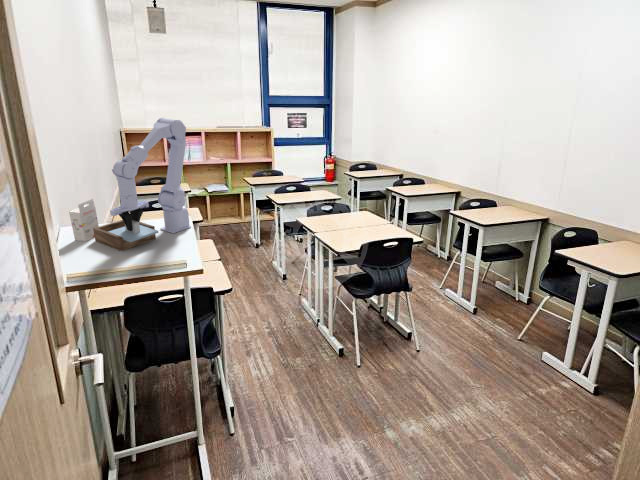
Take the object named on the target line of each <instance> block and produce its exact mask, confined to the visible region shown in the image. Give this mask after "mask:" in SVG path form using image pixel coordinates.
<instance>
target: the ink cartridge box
mask: <svg viewBox="0 0 640 480" xmlns="http://www.w3.org/2000/svg"><path fill="white" fill-rule="evenodd" d="M68 215H69V217H70V221H71V227H72V228H71V229H72V232H73V236H74V238H73V239H74V241H77V242H88V241H90V240H92V239H93V238H95V236H94V230H93V228H96V227H99V226H100V225H99V220H98V215H97V209H96V206H95V201H94V199H93V198H91V199H89V200H86V201H83V202H81V203H78V205H77V208H75V209H73V210H71V211H68Z"/></svg>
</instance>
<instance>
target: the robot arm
mask: <svg viewBox="0 0 640 480" xmlns="http://www.w3.org/2000/svg"><path fill="white" fill-rule="evenodd" d="M186 130H187V126H186V125H185V124H184V122H183V121H182V120H180V119H170V118H165V117H160V118H158V119H157V120H156V121H155V123H153V128H152V129H151V130H150V132H149V133H148V134H146V135H147V136H145V138H144V139H143V140H142V142H141V143H140V144H139V145H137V144H136V145H134V146H131V147H130V148H129V149H130V150H129V151H128V152H127V154H126V155H125V156H123V157H122V158H121V160H117V161H116V162H115V163H114V165H113V168H112V169H111V171H112V174H113V175H114V176H115V178H116V181H117V186H118V194H119V200H120V206H118V207H115V208H112V209H110V210H109V213H110V216H112V217H116V216H119V217H120V218H121V220H123V221H124V223H125V225H126V227H127V230H129V231H132V220H134V221H137V222H141V218H142V216H143V214H144V213H143V212H144V210H143V208H150V207H149V206H150V204H149V201H146V200H144V201H138V195H137V187H136V180H135V179H136V178H135V177H136V176H137V174H138V170H139V167H140V166H141V165H142V164H143V163H144V162H145V161H146V159H147V158H148V157H149V153H148V152H149V151H150V150H152V148H153V147H154V146H155V145H156V144H157V143H159V141H161V139H166V140H167V142H169V144H170V149H169V156H168V157H169V158H168V165H167V171H166V172H167V173H166V178H165V179H166V180H165V184H164V185H162V187H160V192H159V194H158V196H157V202H158V204H159V205H160V206H161V209H162V211H163V212H162V213H163V219H164V220H163V221H164V226H163V227H160V230H162V231H165V232H168V233H170V234H176V233H178V232H181V231H184V230H187V229H189V228H192V226H191V225H190V218H189V216H190V215H189V211H188V208H187V207H186V206H185V204H186V197H185V190H184V189H183V188H182V186H181V184H182V177H183V167H184V159H185V153H186V145H187V140H186V132H187V131H186Z"/></svg>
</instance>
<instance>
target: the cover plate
mask: <svg viewBox="0 0 640 480" xmlns="http://www.w3.org/2000/svg"><path fill="white" fill-rule="evenodd" d="M108 232H110V233H113V234H116V235H118V236H121V237H122V239H123V240H125V241H128V242H133V241H136V240H139V239H142V238H145V237H148V236H151V235H154V234H155V235H156V234H159V230H157V229H155V230H154V229H151V228H148V227H145V226H142V225H139V222H137V221H134V220H132V231H129V230H127V227H126V225H125V227H121V228H118V229H115V230H112V231H108Z"/></svg>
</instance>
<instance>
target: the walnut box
mask: <svg viewBox="0 0 640 480" xmlns="http://www.w3.org/2000/svg"><path fill="white" fill-rule="evenodd" d="M139 225H142V226H145V227H148V228H151V229H154V230H156V228H155V226H154V225H150V224H148V223H146V222H141V221H140V222H139ZM121 227H125V223H124V221H123V220H122V219H121V220H117V221H114V222H110V223H107V224H103V225H99V227H96V228H93V230H94V236H95V237H94V241H95V242H97V243H99V244H102V245H105V246H106V247H109V248H113V249H114V250H118V251H120V252H122V251H125V250H129V249H131V248H135V247H137V246H141V245H143V244H145V243H148V242H151V241H154V240H156V239H157V237H156V234H154V235H151V236H148V237H145V238H142V239H139V240H136V241H133V242H128V241H125V240H123V239H122V237H121V236H118V235H116V234H113V233H110V232H108V231H112V230H115V229H118V228H121Z"/></svg>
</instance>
